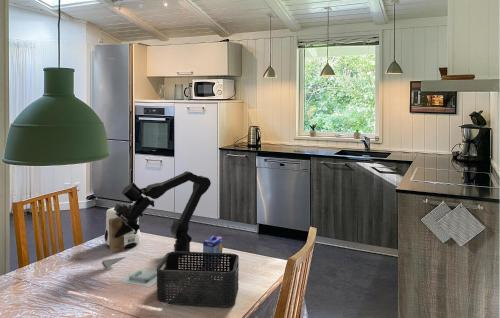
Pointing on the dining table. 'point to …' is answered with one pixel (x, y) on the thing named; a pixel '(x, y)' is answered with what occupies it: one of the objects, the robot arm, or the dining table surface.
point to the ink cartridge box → (213, 245)
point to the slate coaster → (112, 261)
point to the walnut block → (114, 226)
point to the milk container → (129, 237)
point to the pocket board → (141, 278)
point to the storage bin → (198, 279)
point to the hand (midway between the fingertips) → (113, 235)
